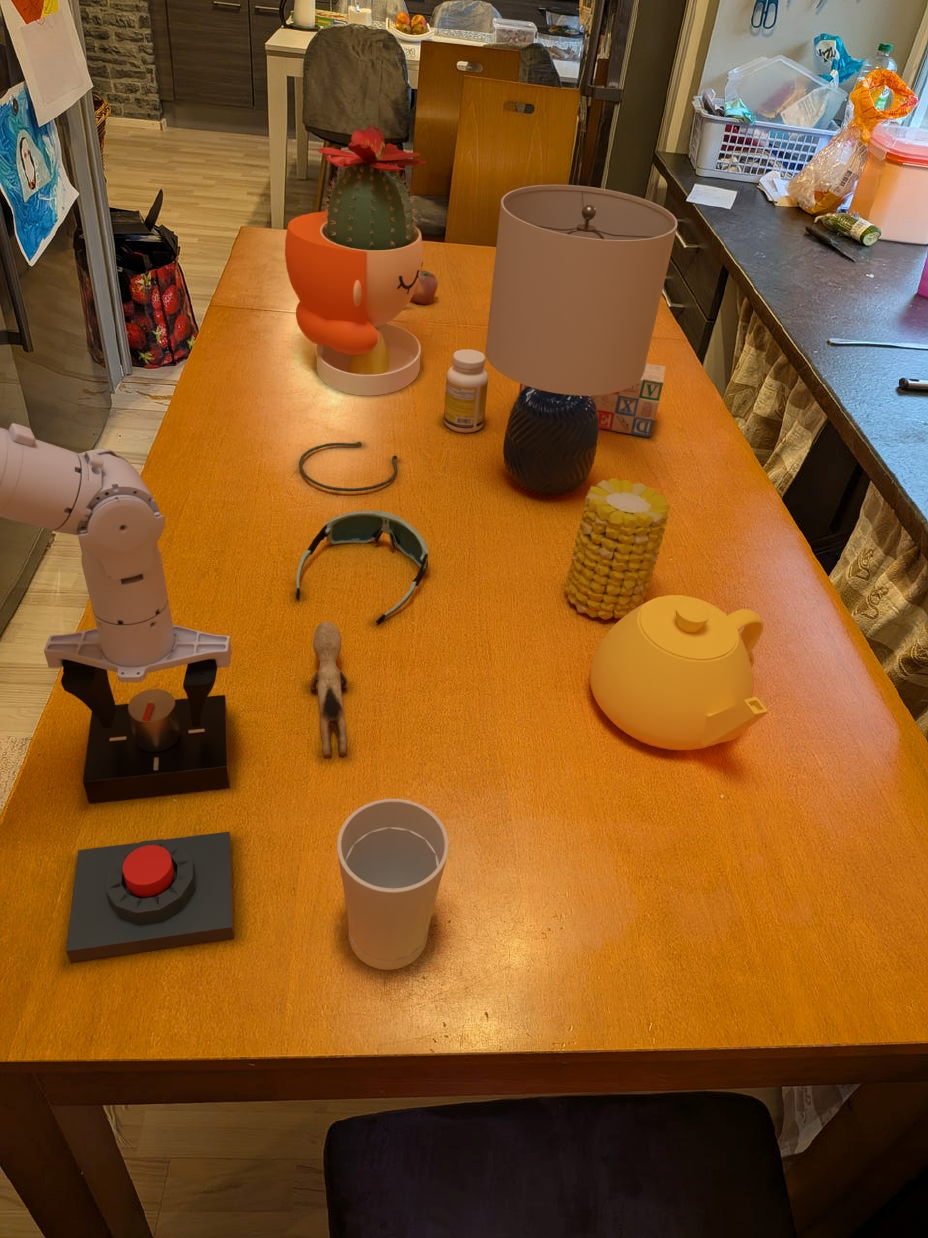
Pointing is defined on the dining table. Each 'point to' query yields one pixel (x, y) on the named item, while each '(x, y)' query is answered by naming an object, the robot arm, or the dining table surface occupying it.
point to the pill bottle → (466, 392)
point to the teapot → (679, 673)
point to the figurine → (329, 686)
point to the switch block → (151, 900)
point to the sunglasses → (370, 529)
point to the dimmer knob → (154, 720)
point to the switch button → (148, 871)
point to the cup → (391, 879)
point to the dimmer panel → (158, 757)
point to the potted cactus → (359, 270)
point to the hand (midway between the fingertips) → (154, 719)
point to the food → (616, 548)
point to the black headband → (344, 488)
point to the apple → (426, 288)
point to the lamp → (571, 318)
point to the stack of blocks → (631, 404)
